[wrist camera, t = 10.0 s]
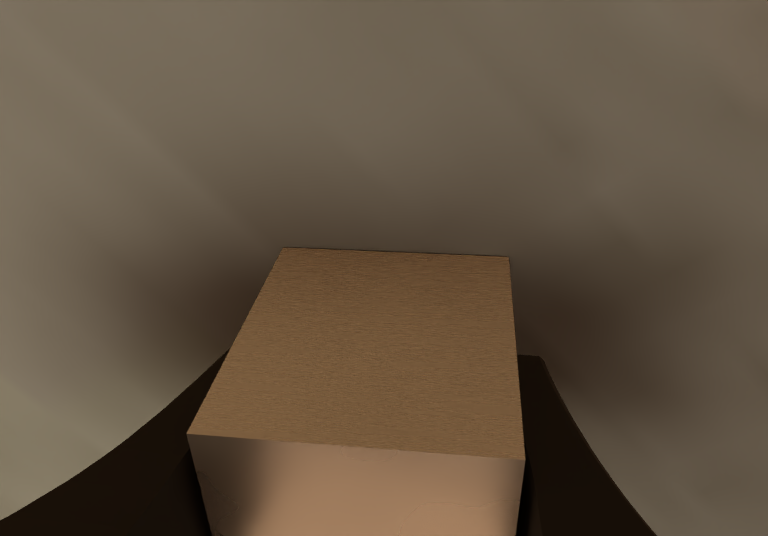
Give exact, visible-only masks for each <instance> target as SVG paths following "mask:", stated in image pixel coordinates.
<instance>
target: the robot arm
mask: <svg viewBox="0 0 768 536" xmlns="http://www.w3.org/2000/svg"><path fill="white" fill-rule="evenodd" d="M230 349H231V348H230ZM230 349H229V350H228V351H227V352H226V353H225V354H223V355H222V356H221V357H220V358H219V359H218V360H217V361H216V362H215V363H214V364H213V365H212V366H211V367H210V368H208V369H207V370H206V371H205V372H204V373H203V374H202V375H201V376H200V377H199V378H198V379H197V380H196V381H194V382H193V383H192V384H191V385H190V386H189V387H188V388H187V389H186V390H185V391H183V392H182V393H181V394H180V395H179V396H178V397H177V398H176V399H174V400H173V401H172V402H171V403H170V404H169V405H168V406H167V407H165V408H164V409H163V410H162V411H161V412H160V413H158V414H157V415H156V416H155V417H153V418H152V419H151V420H150V421H149V422H147V423H146V424H145V425H144V426H142V427H141V428H140V429H139V430H138V431H136V432H135V433H134V434H133V435H131V436H130V437H129V438H128V439H126V440H125V441H124V442H122V443H121V444H120V445H118V446H117V447H116V448H114V449H113V450H112V451H110V452H109V453H108V454H106V455H105V456H103V457H102V458H101V459H99V460H98V461H96V462H95V463H93V464H92V465H90V466H89V467H87V468H86V469H85V470H83V471H82V472H80V473H79V474H77V475H76V476H74V477H73V478H71V479H70V480H68V481H67V482H65V483H63V484H62V485H60V486H58V487H57V488H55V489H53V490H52V491H50V492H48V493H47V494H45V495H43V496H42V497H40V498H38V499H37V500H35V501H33V502H32V503H30V504H28V505H27V506H25V507H23V508H22V509H20V510H18V511H17V512H15V513H13V514H11V515H10V516H8V517H6V518H4V519H2V520H0V536H212V533H211V529H210V525H209V521H208V517H207V513H206V509H205V505H204V501H203V497H202V493H201V489H200V485H199V481H198V477H197V473H196V469H195V466H194V462H193V458H192V454H191V450H190V446H189V442H188V438H187V432H188V430H189V428H190V426H191V424H192V422H193V420H194V418H195V416H196V414H197V412H198V410H199V408H200V407H201V405H202V403H203V401H204V399H205V397H206V395H207V393H208V391H209V389H210V387H211V385H212V383H213V381H214V380H215V378H216V376H217V374H218V372H219V370H220V368H221V366H222V364H223V362H224V360H225V358H226V356H227V354H228V353H229V351H230ZM517 364H518V376H519V388H520V400H521V413H522V425H523V437H524V450H525V466H524V474H523V482H522V489H521V497H520V505H519V513H518V520H517V528H516V536H657V535H656V534H655V533H654V532H653V531H652V530H651V528H650V527H649V526H648V525H647V523H646V522H645V521H644V520H643V519H642V517H641V516H640V515H639V514H638V512H637V511H636V510H635V509H634V508H633V506H632V505H631V504H630V502H629V501H628V500H627V499H626V497H625V496H624V495H623V493H622V492H621V491H620V489H619V488H618V487H617V485H616V484H615V482H614V481H613V480H612V478H611V477H610V475H609V474H608V472H607V471H606V470H605V468H604V467H603V465H602V464H601V463H600V461H599V460H598V458H597V457H596V455H595V453H594V452H593V450H592V449H591V447H590V446H589V444H588V443H587V441H586V439H585V438H584V436H583V434H582V433H581V431H580V430H579V428H578V426H577V425H576V423H575V421H574V420H573V418H572V416H571V415H570V413H569V411H568V409H567V407H566V406H565V404H564V402H563V400H562V398H561V396H560V394H559V393H558V391H557V389H556V387H555V385H554V382H553V380H552V378H551V376H550V374H549V372H548V369H547V367H546V365H545V362H544V361H543V360H542V359H541V358H540V357H539V356H527V355H517Z"/></svg>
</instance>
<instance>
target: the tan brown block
mask: <svg viewBox="0 0 768 536" xmlns="http://www.w3.org/2000/svg"><path fill="white" fill-rule="evenodd" d="M187 438H188V442H189V446H190V450H191V454H192V458H193V462H194V466H195V469H196V473H197V477H198V481H199V485H200V489H201V493H202V497H203V501H204V505H205V509H206V513H207V517H208V521H209V525H210V529H211V533H212V536H516V528H517V520H518V513H519V505H520V497H521V489H522V482H523V474H524V466H525V450H524V437H523V425H522V413H521V400H520V388H519V376H518V364H517V351H516V339H515V327H514V315H513V302H512V290H511V278H510V265H509V257H498V256H474V255H450V254H426V253H402V252H378V251H354V250H330V249H307V248H282V250H281V252H280V254H279V256H278V258H277V260H276V262H275V264H274V266H273V268H272V270H271V272H270V273H269V275H268V277H267V279H266V281H265V283H264V285H263V287H262V289H261V291H260V293H259V295H258V297H257V299H256V300H255V302H254V304H253V306H252V308H251V310H250V312H249V314H248V316H247V318H246V320H245V322H244V324H243V326H242V327H241V329H240V331H239V333H238V335H237V337H236V339H235V341H234V343H233V345H232V347H231V349H230V351H229V353H228V354H227V356H226V358H225V360H224V362H223V364H222V366H221V368H220V370H219V372H218V374H217V376H216V378H215V380H214V381H213V383H212V385H211V387H210V389H209V391H208V393H207V395H206V397H205V399H204V401H203V403H202V405H201V407H200V408H199V410H198V412H197V414H196V416H195V418H194V420H193V422H192V424H191V426H190V428H189V430H188V432H187Z"/></svg>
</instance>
